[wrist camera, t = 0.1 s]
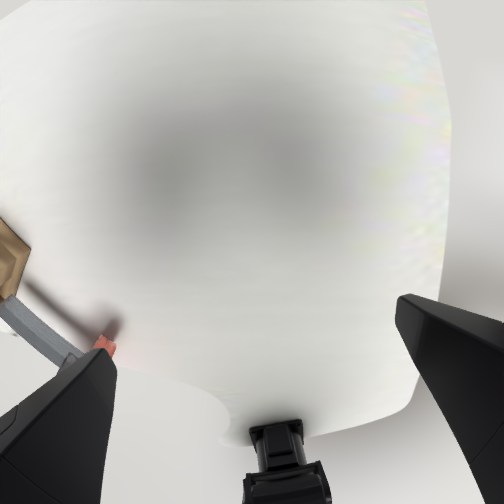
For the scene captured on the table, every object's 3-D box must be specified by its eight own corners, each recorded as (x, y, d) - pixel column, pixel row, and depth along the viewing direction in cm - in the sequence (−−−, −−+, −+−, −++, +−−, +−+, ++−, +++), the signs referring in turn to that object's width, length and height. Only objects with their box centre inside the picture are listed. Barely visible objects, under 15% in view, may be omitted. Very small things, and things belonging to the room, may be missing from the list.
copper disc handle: (126, 327, 23) (93, 398, 15) (92, 375, 25) (65, 436, 17) (35, 254, 20) (-24, 300, 12) (15, 314, 22) (-28, 362, 14)
